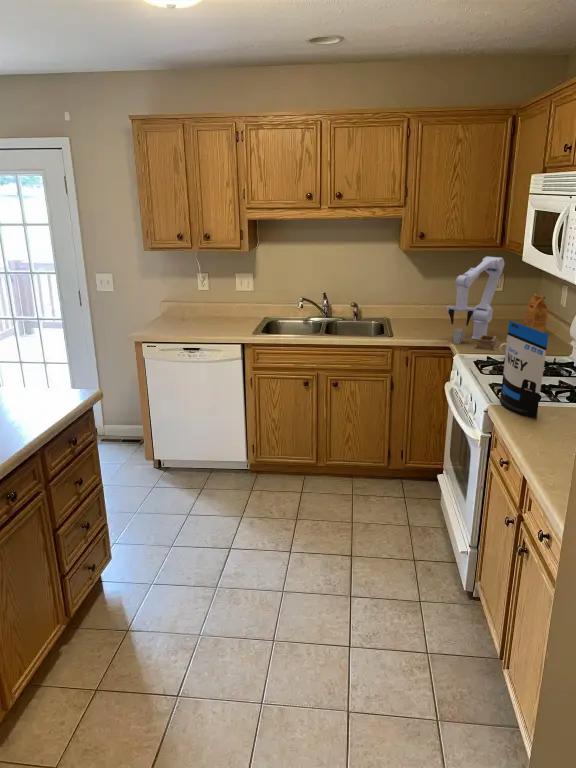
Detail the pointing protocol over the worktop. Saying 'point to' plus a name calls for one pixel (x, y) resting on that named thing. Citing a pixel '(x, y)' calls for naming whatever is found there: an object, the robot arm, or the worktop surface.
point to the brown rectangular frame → (486, 342)
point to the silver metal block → (458, 336)
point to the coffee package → (536, 313)
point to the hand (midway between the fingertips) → (459, 324)
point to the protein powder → (523, 369)
